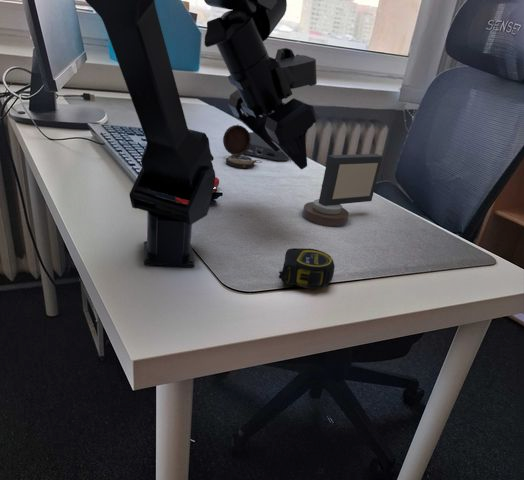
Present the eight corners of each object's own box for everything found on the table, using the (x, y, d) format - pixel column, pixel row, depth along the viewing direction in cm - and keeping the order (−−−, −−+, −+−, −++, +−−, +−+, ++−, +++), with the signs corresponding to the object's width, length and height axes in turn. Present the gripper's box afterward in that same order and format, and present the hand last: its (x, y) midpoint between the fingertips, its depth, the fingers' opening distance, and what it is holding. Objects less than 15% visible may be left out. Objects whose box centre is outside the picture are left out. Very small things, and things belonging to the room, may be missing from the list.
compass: (230, 168, 108) (234, 132, 104) (220, 157, 114) (223, 122, 110) (265, 170, 110) (270, 134, 106) (254, 159, 116) (258, 125, 112)
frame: (324, 215, 87) (336, 161, 82) (306, 205, 90) (317, 152, 85) (376, 210, 93) (390, 159, 88) (357, 200, 96) (370, 151, 91)
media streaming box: (298, 151, 129) (300, 139, 127) (284, 163, 117) (286, 150, 115) (243, 139, 131) (245, 127, 129) (224, 150, 119) (225, 137, 117)
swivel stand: (353, 228, 88) (355, 219, 87) (309, 225, 86) (310, 216, 85) (338, 211, 95) (340, 203, 94) (297, 208, 93) (299, 200, 92)
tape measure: (283, 266, 71) (287, 241, 69) (331, 276, 71) (337, 251, 69) (276, 288, 66) (280, 261, 64) (328, 299, 65) (335, 272, 63)
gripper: (330, 35, 63) (365, 145, 73) (268, 19, 76) (305, 115, 87) (255, 87, 63) (301, 190, 73) (206, 62, 76) (251, 152, 87)
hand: (290, 158), depth 80 cm, fingers open, 9 cm apart
